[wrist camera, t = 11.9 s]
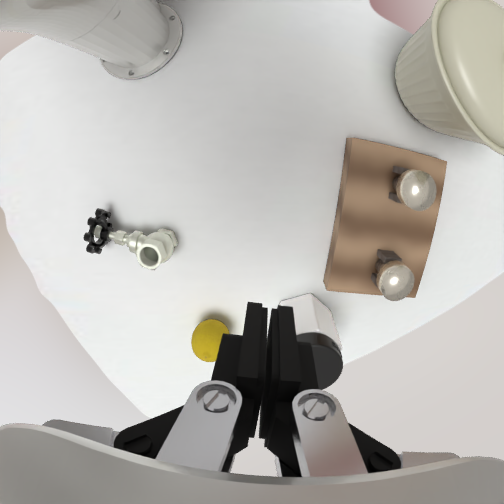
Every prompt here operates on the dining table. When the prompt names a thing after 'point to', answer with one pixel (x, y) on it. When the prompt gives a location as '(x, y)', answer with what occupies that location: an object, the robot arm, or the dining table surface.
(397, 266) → the knob
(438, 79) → the canister
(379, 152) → the mount board
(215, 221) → the dining table surface
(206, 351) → the lemon
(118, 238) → the valve
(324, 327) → the jar
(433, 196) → the knob
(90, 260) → the dining table surface
